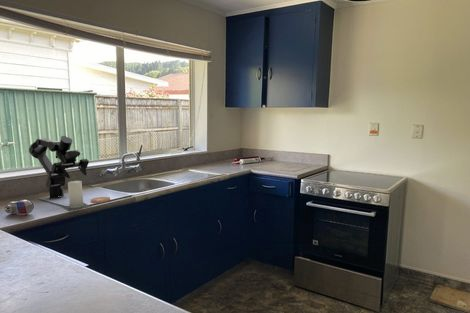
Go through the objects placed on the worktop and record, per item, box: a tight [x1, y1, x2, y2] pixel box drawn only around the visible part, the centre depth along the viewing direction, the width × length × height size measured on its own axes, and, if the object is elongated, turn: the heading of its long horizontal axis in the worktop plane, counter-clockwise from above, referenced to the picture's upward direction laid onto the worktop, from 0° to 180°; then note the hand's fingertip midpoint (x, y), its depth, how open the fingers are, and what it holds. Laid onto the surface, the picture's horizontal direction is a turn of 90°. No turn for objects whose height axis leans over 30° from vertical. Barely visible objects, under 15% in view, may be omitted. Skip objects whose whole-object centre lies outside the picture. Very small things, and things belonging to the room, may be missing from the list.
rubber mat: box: [61, 202, 92, 212], centre depth 173 cm, size 11×11×1 cm
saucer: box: [90, 196, 111, 204], centre depth 185 cm, size 10×10×1 cm
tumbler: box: [67, 180, 84, 209], centre depth 172 cm, size 6×6×13 cm
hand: (77, 176), depth 181 cm, fingers open, 9 cm apart
